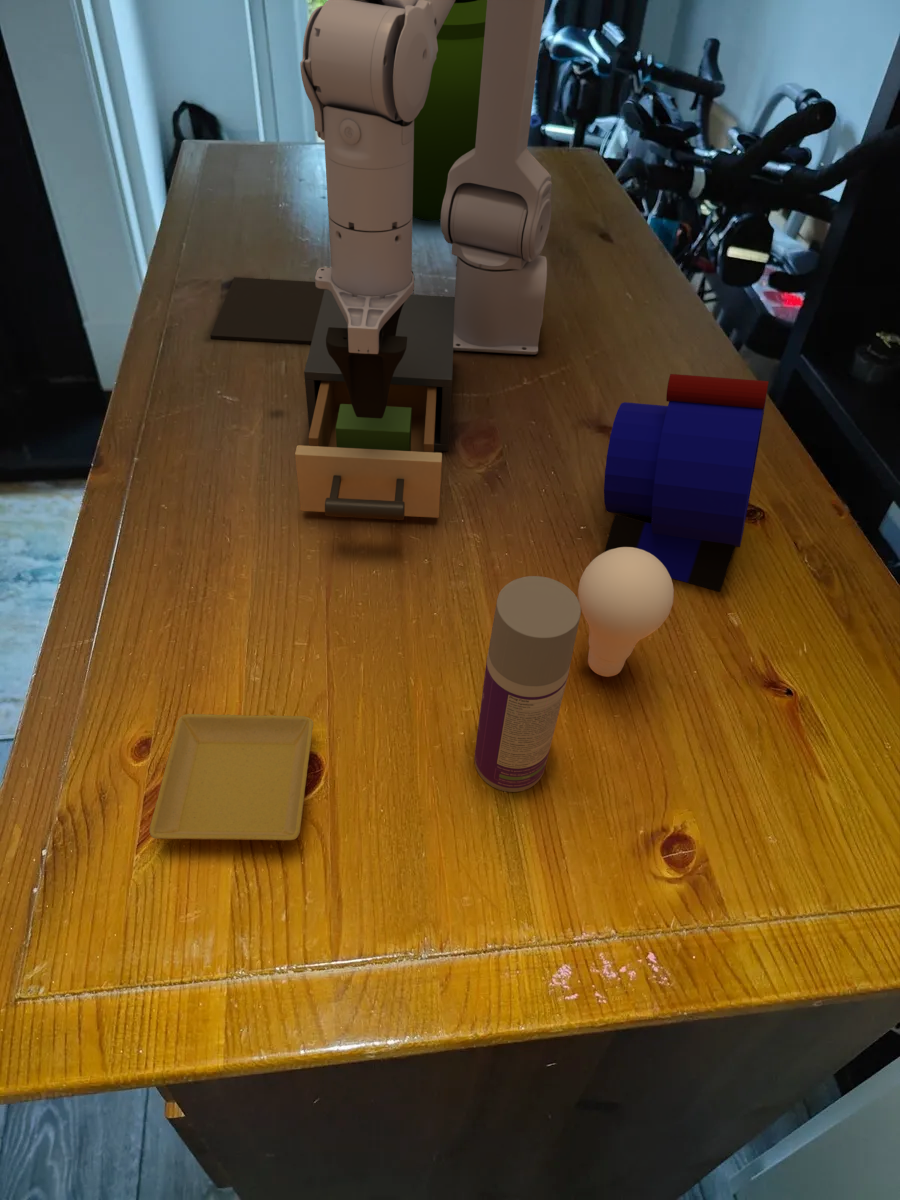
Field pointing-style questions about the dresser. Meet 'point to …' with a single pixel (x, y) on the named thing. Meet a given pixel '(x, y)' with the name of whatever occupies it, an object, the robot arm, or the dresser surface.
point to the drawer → (370, 462)
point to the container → (525, 680)
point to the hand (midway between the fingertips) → (373, 387)
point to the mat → (269, 311)
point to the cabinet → (421, 362)
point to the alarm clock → (686, 474)
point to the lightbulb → (622, 604)
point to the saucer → (234, 778)
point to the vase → (449, 106)
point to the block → (374, 429)
